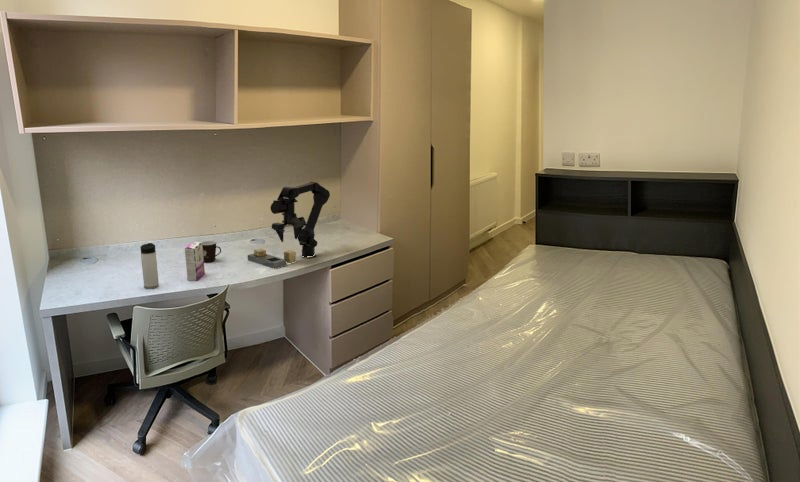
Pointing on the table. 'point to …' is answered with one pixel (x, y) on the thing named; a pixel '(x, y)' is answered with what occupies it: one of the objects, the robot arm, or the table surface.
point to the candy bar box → (194, 261)
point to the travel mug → (149, 266)
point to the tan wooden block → (290, 256)
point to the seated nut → (259, 252)
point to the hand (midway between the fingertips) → (289, 240)
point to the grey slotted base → (267, 260)
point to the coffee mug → (209, 251)
